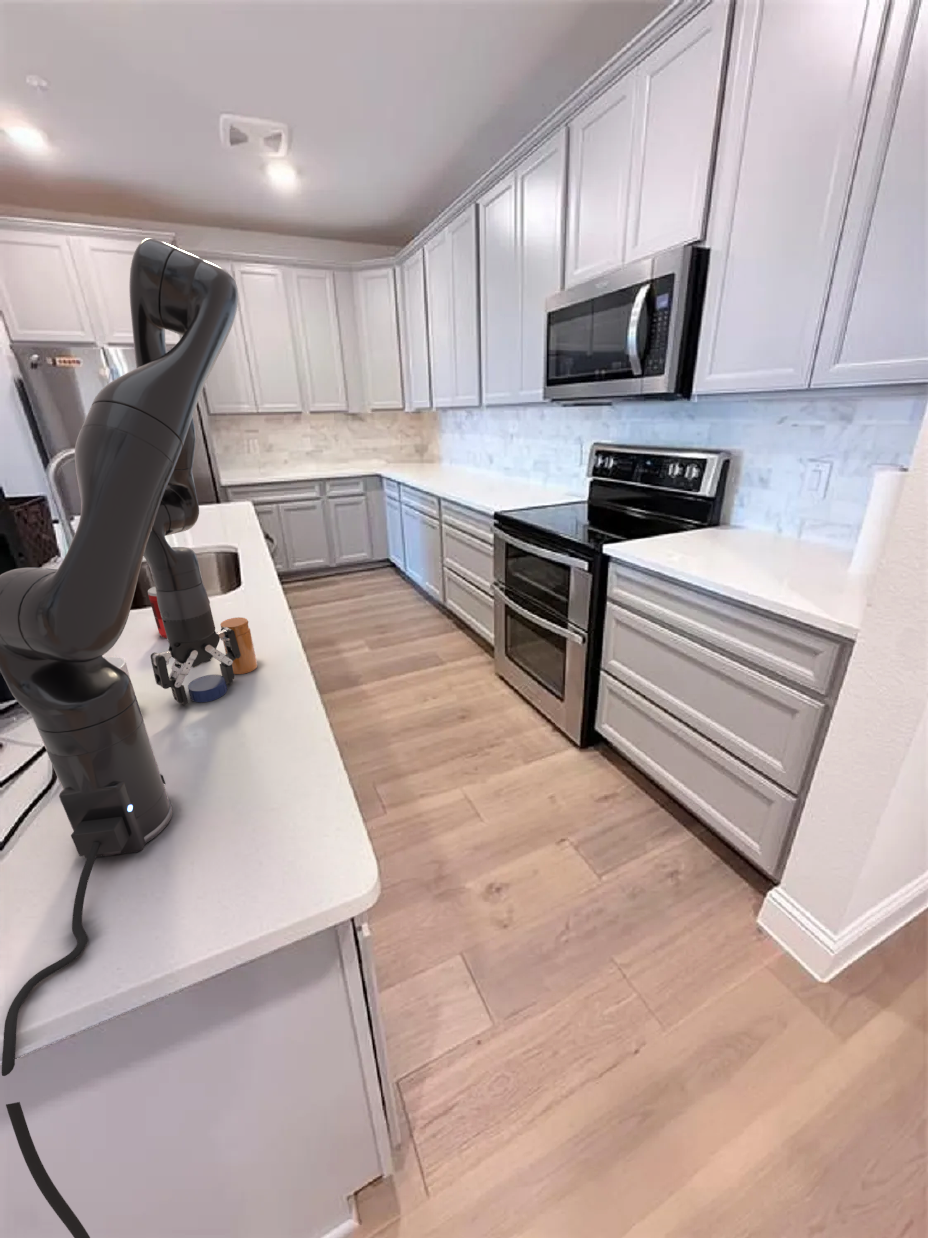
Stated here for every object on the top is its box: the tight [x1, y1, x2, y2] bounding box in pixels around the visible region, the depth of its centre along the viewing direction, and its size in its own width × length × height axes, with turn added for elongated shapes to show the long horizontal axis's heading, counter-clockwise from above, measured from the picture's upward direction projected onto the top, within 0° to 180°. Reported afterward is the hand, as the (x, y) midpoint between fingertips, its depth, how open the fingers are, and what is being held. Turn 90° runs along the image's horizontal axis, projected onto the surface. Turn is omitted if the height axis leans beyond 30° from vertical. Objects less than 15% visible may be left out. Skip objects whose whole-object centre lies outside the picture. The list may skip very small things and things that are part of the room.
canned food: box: [147, 585, 167, 639], centre depth 116 cm, size 8×8×11 cm
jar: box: [220, 616, 258, 675], centre depth 99 cm, size 5×5×10 cm
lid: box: [187, 674, 228, 703], centre depth 92 cm, size 6×6×2 cm
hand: (206, 692), depth 92 cm, fingers open, 8 cm apart
